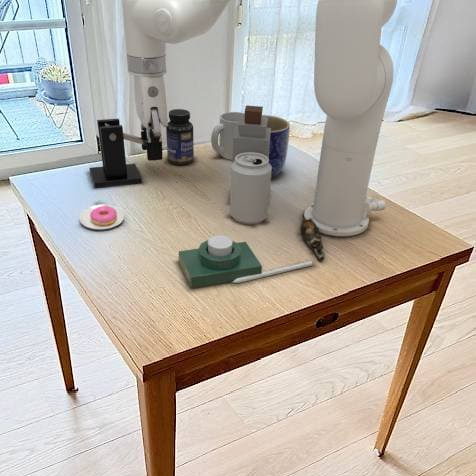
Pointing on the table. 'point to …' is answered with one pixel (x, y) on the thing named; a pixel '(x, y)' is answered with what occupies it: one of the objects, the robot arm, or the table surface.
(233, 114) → the cup
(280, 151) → the planter
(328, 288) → the table surface
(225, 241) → the flush button
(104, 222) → the donut
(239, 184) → the can
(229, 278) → the button block
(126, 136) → the flush lever
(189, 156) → the pill bottle
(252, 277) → the pencil
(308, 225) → the bird model
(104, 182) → the lever bracket
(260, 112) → the perfume bottle
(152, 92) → the robot arm
